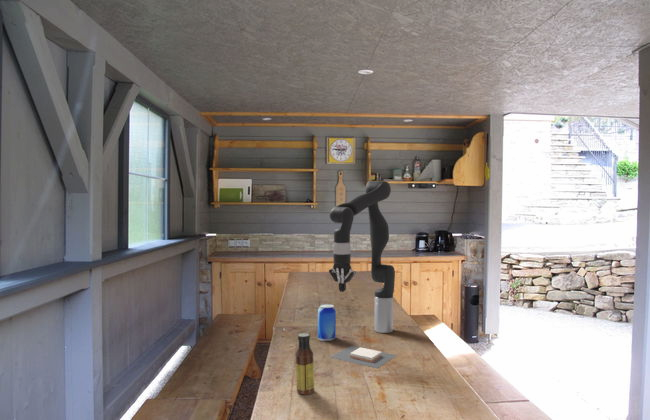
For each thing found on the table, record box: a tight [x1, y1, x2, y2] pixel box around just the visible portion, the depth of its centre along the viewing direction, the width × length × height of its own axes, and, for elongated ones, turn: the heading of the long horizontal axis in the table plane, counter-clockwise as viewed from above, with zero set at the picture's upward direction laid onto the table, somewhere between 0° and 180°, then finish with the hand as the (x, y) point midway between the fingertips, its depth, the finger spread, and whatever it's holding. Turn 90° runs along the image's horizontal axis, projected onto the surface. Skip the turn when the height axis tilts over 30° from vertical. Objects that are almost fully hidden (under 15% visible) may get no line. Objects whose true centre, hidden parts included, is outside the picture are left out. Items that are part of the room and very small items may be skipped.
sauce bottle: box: [295, 332, 315, 396], centre depth 159 cm, size 7×6×20 cm
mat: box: [329, 345, 398, 369], centre depth 193 cm, size 18×22×1 cm
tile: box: [350, 347, 382, 362], centre depth 193 cm, size 9×2×10 cm
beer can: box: [317, 303, 337, 342], centre depth 217 cm, size 8×8×16 cm
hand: (342, 291), depth 205 cm, fingers closed
